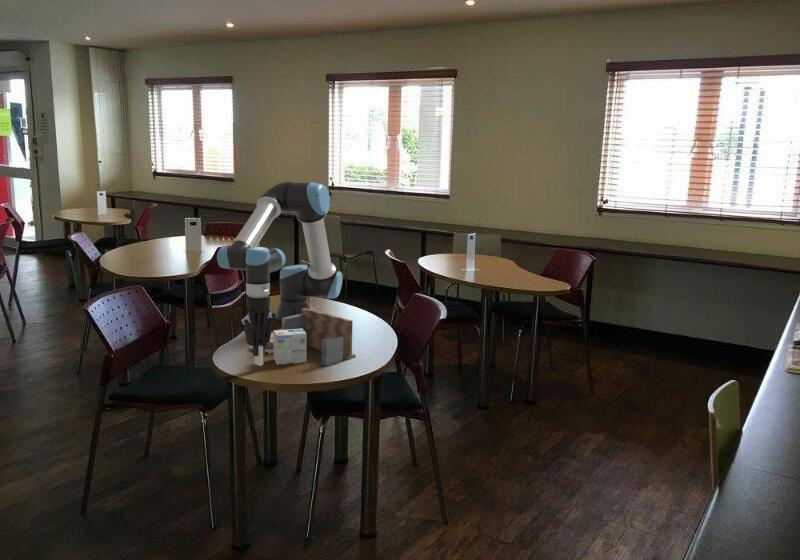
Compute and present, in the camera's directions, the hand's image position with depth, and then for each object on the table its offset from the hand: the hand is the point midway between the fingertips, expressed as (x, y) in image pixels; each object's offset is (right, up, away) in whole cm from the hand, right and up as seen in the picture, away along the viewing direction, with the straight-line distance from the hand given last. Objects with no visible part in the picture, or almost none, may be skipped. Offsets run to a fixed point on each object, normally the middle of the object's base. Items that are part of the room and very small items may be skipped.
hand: (258, 364), depth 219 cm
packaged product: (0, +3, +28) cm, 28 cm away
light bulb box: (+8, 0, +11) cm, 14 cm away
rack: (+17, +1, +20) cm, 26 cm away
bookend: (+23, -1, +10) cm, 25 cm away
